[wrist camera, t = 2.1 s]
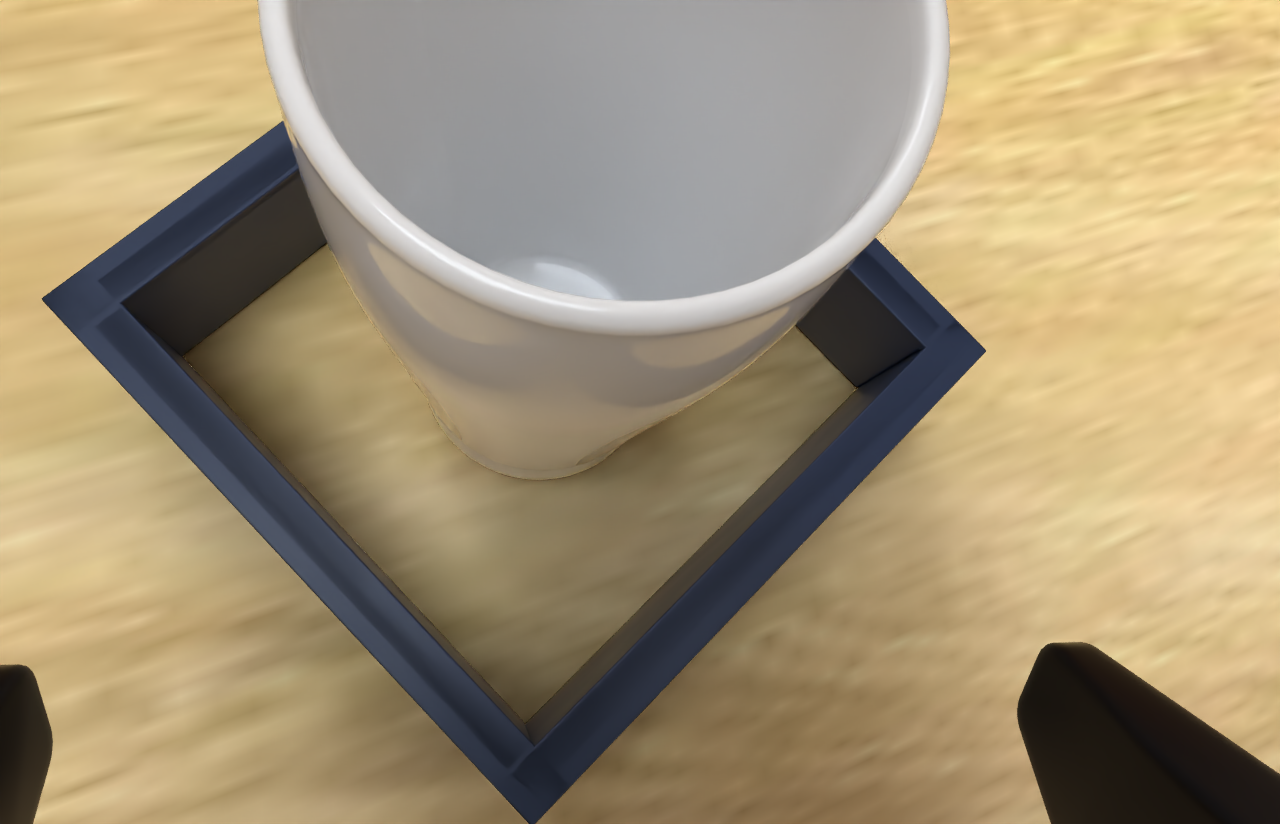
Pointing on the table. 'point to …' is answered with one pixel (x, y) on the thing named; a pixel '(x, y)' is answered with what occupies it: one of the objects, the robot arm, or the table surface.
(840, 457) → the dark blue square tray
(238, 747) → the table surface
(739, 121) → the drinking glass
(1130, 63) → the table surface
